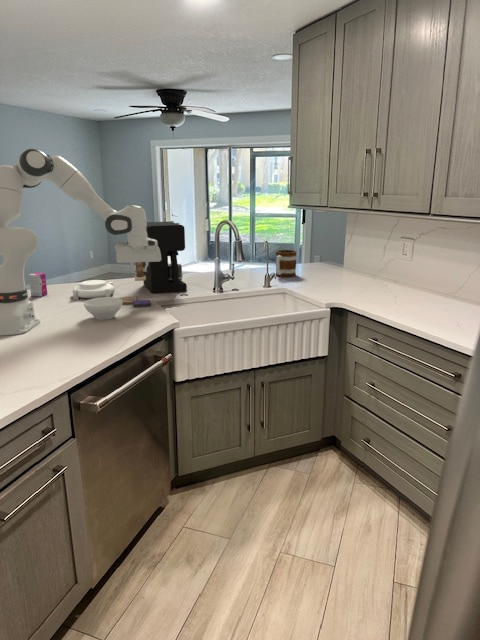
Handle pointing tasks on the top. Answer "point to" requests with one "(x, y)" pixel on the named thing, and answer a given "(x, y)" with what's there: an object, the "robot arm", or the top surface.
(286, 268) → the mug
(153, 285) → the coffee maker
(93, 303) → the bowl
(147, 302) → the ink pad
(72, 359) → the top surface
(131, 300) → the board
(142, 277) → the stamp
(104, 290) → the round stand with pegs
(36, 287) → the supplement box
